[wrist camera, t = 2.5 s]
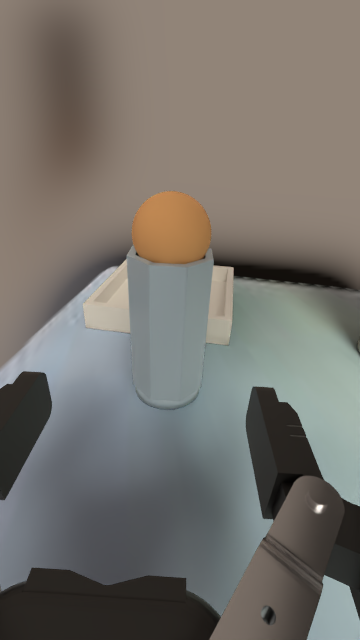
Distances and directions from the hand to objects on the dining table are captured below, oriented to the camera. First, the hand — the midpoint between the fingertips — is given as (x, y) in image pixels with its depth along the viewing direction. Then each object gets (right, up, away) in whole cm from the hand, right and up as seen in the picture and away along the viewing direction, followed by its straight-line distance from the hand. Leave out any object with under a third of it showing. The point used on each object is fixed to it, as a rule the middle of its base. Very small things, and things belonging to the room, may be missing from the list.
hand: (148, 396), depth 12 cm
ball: (+1, +9, +8) cm, 12 cm away
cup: (0, -3, +15) cm, 15 cm away
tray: (0, +5, +28) cm, 29 cm away
